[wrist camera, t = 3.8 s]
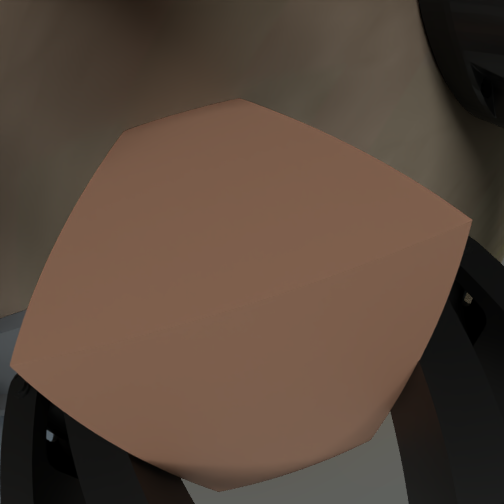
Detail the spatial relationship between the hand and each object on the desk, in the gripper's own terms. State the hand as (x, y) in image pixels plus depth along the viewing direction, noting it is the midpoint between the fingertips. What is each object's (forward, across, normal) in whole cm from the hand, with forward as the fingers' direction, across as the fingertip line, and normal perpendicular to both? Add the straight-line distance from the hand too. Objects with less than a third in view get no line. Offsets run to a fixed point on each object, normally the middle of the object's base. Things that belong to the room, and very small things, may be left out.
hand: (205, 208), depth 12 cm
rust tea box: (+1, 0, 0) cm, 1 cm away
